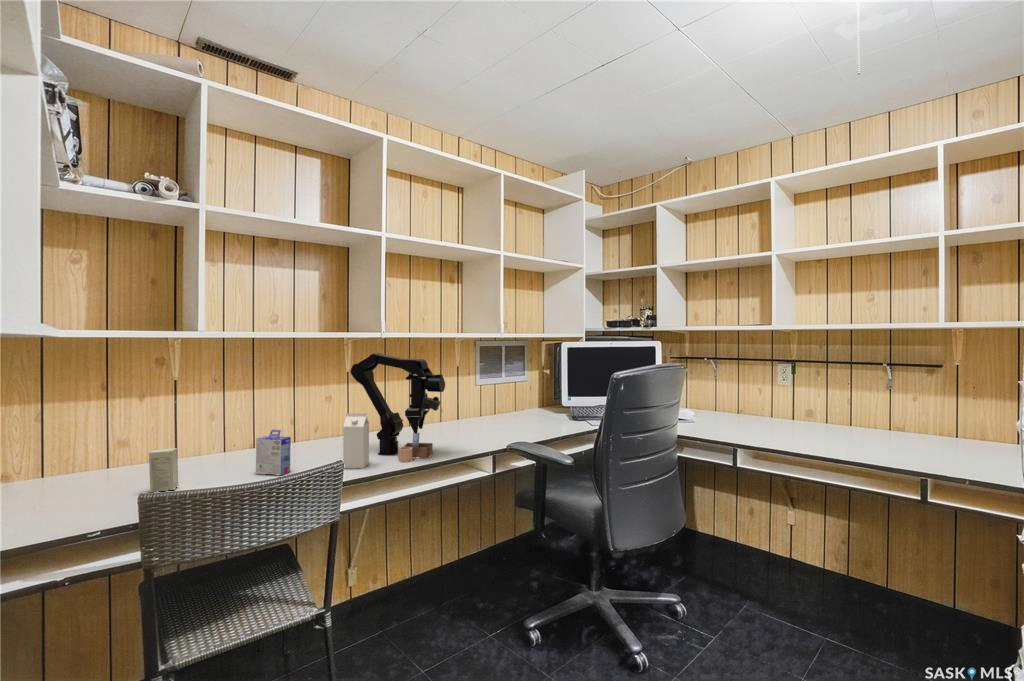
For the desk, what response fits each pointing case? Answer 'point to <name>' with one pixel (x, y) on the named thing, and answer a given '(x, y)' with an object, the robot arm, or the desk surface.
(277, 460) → the ink cartridge box
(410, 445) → the walnut tray
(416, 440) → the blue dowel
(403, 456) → the terracotta pot
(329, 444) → the desk surface
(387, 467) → the desk surface
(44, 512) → the desk surface
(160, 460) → the skincare box
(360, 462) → the milk carton
